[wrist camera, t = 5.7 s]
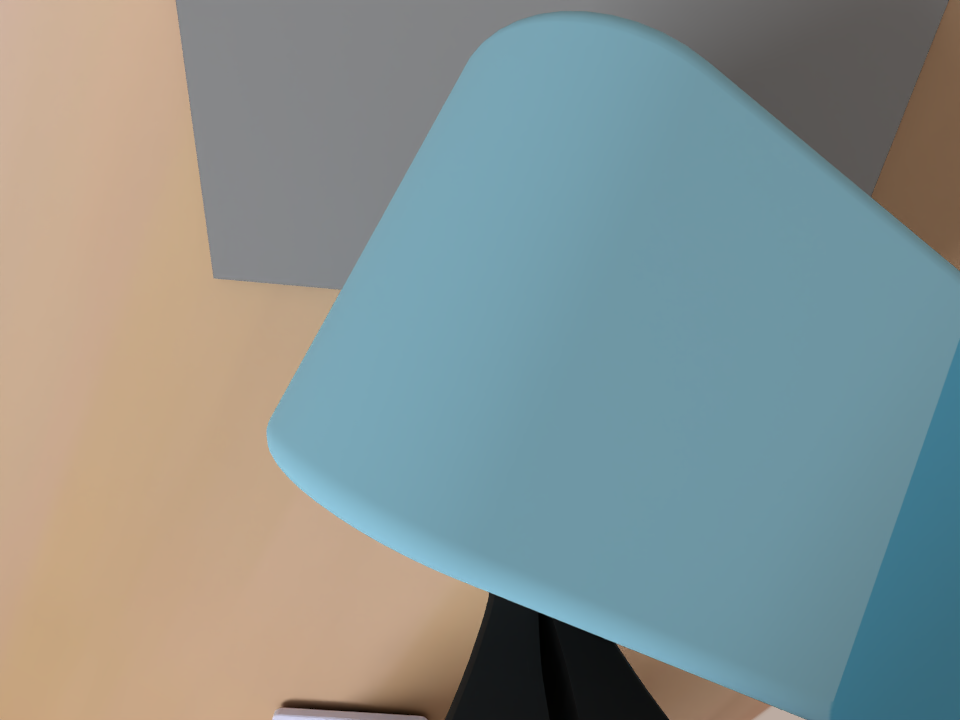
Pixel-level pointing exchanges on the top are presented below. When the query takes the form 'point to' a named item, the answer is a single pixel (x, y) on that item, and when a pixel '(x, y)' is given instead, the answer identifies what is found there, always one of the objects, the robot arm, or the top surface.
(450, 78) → the mat
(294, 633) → the top surface
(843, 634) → the blue square block
